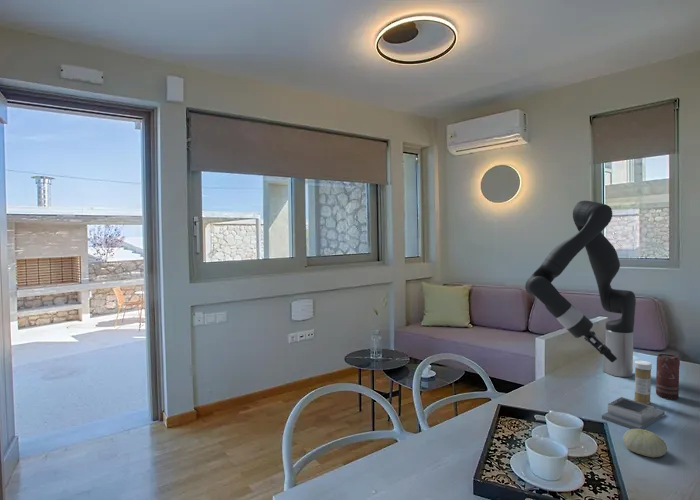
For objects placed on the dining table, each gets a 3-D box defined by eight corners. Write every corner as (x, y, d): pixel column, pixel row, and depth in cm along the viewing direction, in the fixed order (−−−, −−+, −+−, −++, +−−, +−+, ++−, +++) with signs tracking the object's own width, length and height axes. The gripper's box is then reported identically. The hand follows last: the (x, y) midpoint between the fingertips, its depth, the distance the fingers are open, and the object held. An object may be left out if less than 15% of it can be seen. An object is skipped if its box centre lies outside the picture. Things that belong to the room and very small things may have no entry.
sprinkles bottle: (640, 398, 141) (641, 359, 140) (654, 403, 137) (655, 363, 136) (630, 400, 139) (631, 360, 139) (644, 405, 135) (645, 365, 134)
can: (683, 400, 139) (684, 359, 138) (661, 399, 140) (662, 358, 139) (673, 393, 145) (674, 353, 144) (652, 392, 146) (653, 353, 145)
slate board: (601, 418, 127) (601, 415, 127) (628, 403, 137) (628, 400, 137) (639, 431, 119) (639, 427, 118) (664, 414, 129) (664, 411, 129)
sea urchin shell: (658, 458, 102) (634, 425, 106) (633, 468, 107) (611, 437, 112) (678, 448, 106) (653, 417, 111) (653, 459, 111) (631, 429, 116)
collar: (607, 413, 128) (607, 404, 128) (621, 406, 133) (621, 397, 133) (641, 424, 120) (641, 414, 120) (654, 416, 125) (654, 406, 125)
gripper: (586, 317, 136) (626, 355, 133) (579, 309, 150) (616, 344, 146) (567, 332, 138) (607, 370, 135) (562, 323, 152) (598, 357, 148)
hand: (611, 356), depth 140 cm, fingers open, 8 cm apart
